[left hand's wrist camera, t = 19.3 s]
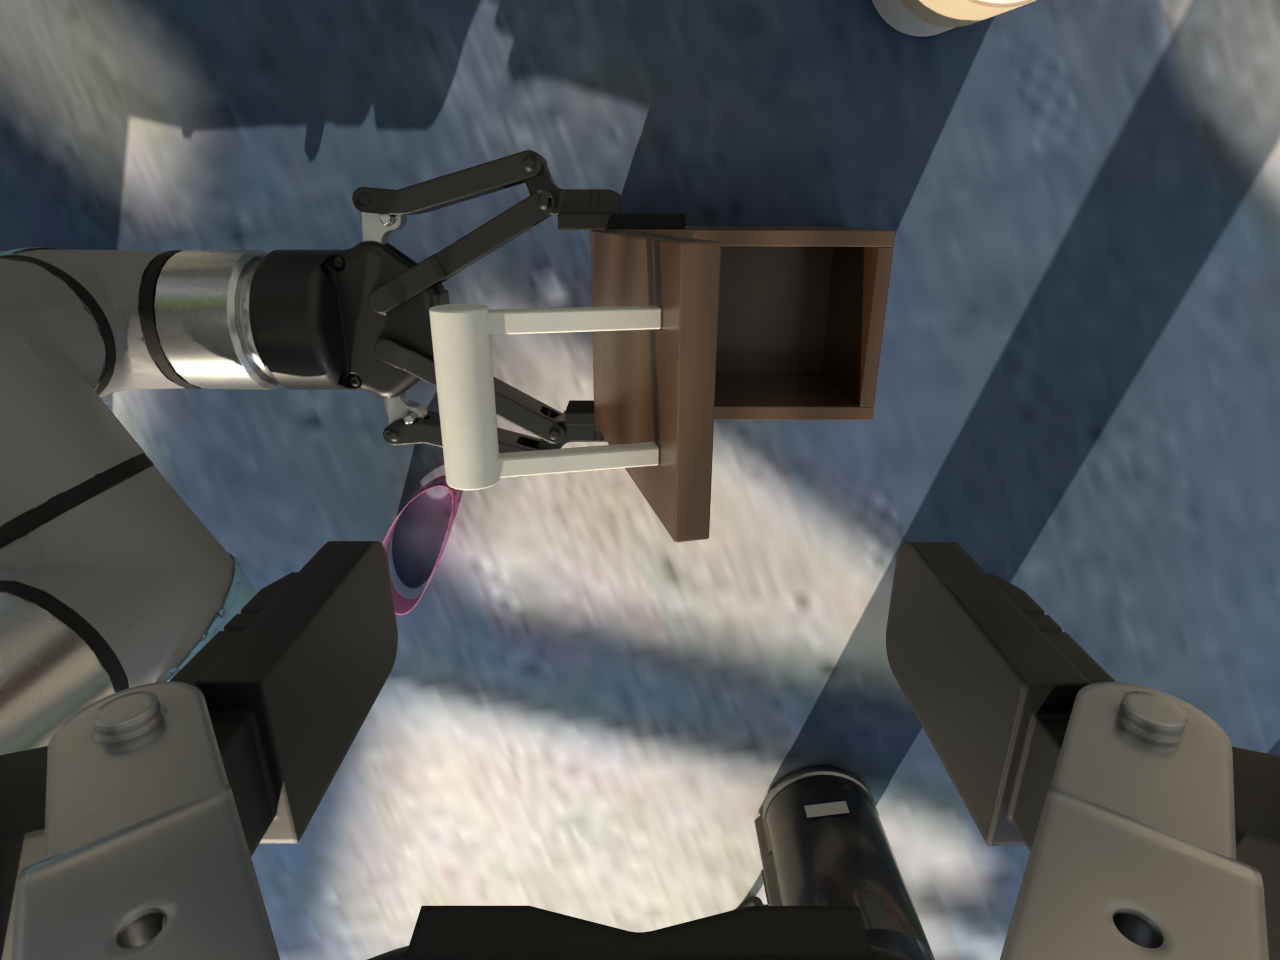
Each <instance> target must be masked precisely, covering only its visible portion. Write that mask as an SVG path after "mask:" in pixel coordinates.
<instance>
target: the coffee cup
mask: <svg viewBox="0 0 1280 960" xmlns="http://www.w3.org/2000/svg"><path fill="white" fill-rule="evenodd" d="M1033 1H1036V0H872V2H873V4H874V6H875V8H876V10H877V11H878V13H879V14H880V16H881V17H882V18H883V19H884V20H885V21H886V22H887V23H888V24H889V25H890V26H891V27H893V28H894V29H896V30H898V31H899V32H902V33H904V34H907V35H911V36H917V37H926V36H933V35H937V34H940V33H943V32H945V31H948V30H951V29H953V28H956V27H961V26H967V25H970V24H973V23H976V22H979V21H982V20H985V19H987V18H990V17H993V16H995V15H998V14H1001V13H1004V12H1006V11H1009V10H1012V9H1015V8H1017V7H1020V6H1023V5H1025V4H1028V3H1031V2H1033Z"/></svg>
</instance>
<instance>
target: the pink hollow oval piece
mask: <svg viewBox="0 0 1280 960" xmlns="http://www.w3.org/2000/svg"><path fill="white" fill-rule="evenodd" d="M434 487H444V488H446V489H448V490H449V491H450V493H451V496H452V511H451V517H450V521H449V525H448V529H447V532H446V535H445V538H444V541H443V544H442V547H441V550H440V553H439V556H438V558H437V561H436V564H435V566H434V569H433V571H432V574H431V576H430V579H429V581H428V583H427V585H426V587H425V589H426V588H427V586H428V584H429V582H430V581H431V579H432V577H433V575H434V573H435V570H436V568H437V566H438V563H439V561H440V559H441V556H442V554H443V551H444V548H445V546H446V543H447V540H448V537H449V535H450V532H451V529H452V526H453V523H454V520H455V516H456V513H457V509H458V505H459V499H460V490H459V489H454V488H452V487H450V486H448V484H447V483H446V475H444V476H440V477H438V478H436V479H434V480H432V481H430V482H429V483H427V484H426V485H425V486H423V487H422V488H421V489H420V490H419V491H418V492H417V493H416V494H415V495H414V496H413V497H412V498H411V500H410V501H409V502H408V503H407V505H408V504H409V503H410V502H411V501H412V500H413V499H415V498H416V497H417V496H418V495H420V494H421V493H423V492H425V491H427V490H429V489H431V488H434ZM407 505H406V506H407ZM406 506H405V507H406ZM405 507H404V508H403V510H404V509H405ZM403 510H402V511H401V512H400V513H399V515H398V516H397V517H396V519H395V520H394V522H393V524H392V525H391V527H390V529H389V531H388V533H387V535H386V537H385V539H384V541H383V544H382V545H383V546H384V548H385V551H386V554H387V559H388V566H389V548H390V542H391V538H392V534H393V531H394V528H395V526H396V523H397V521H398V519H399V517H400V515H401V514H402V512H403ZM389 574H390V571H389ZM390 581H391V588H392V595H393V602H394V609H395V614H397V615H404V614H407V613H408V612H410V611H411V610H412V609H413V608H414V607H415V606H416V604H417V603H418V601H419V600H420V598H421V596H422V595H423V593H424V591H425V589H424V590H423V592H422V593H421V594H420V595H419V596H417V597H416V598H414V599H406V598H403V597H402V596H401V595H400V594H399V593H398V592H397V591H396V589H395V587H394V585H393V583H392V580H391V576H390Z"/></svg>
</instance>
